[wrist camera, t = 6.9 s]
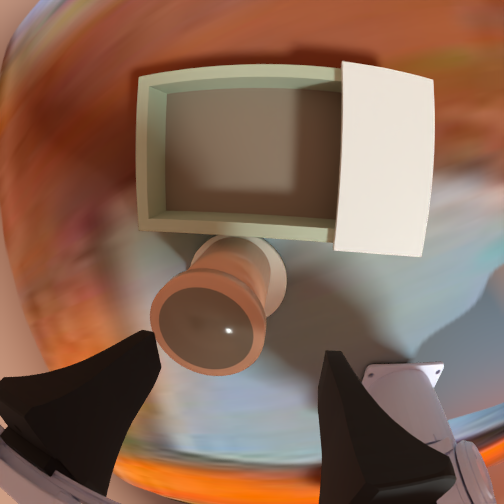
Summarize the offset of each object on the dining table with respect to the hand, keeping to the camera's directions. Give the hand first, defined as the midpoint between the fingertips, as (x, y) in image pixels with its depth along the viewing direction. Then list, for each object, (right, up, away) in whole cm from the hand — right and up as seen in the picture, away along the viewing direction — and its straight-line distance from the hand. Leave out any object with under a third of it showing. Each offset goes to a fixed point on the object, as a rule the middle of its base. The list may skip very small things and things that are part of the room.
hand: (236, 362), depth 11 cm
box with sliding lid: (+2, +11, +6) cm, 13 cm away
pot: (-1, +3, +9) cm, 9 cm away
